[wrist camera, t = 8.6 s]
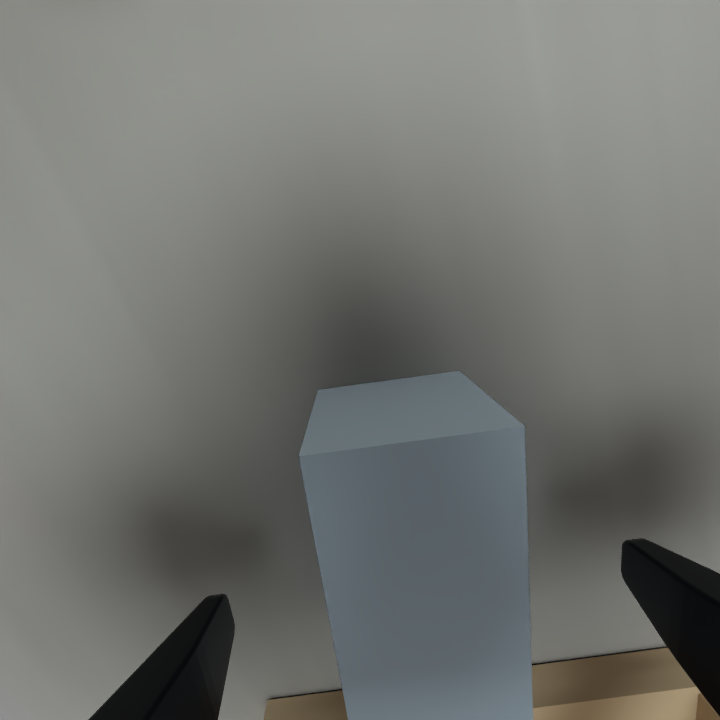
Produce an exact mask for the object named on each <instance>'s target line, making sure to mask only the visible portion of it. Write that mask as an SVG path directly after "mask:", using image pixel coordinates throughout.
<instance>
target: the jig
mask: <svg viewBox="0 0 720 720" xmlns="http://www.w3.org/2000/svg"><path fill="white" fill-rule="evenodd" d="M532 697H533V720H720V717H719V715H718V714H717V713H716V712H715V710H714V709H713V708H712V706H711V705H710V704H709V702H708V701H707V700H706V699H705V697H704V696H703V695H702V693H701V692H700V691H699V689H698V688H697V687H696V686H695V684H694V683H693V682H692V680H691V679H690V678H689V676H688V675H687V674H686V672H685V671H684V670H683V668H682V667H681V666H680V664H679V663H678V662H677V660H676V659H675V657H674V656H673V654H672V653H671V652H670V650H669V649H668V648H661V649H654V650H646V651H638V652H631V653H623V654H616V655H608V656H600V657H593V658H585V659H577V660H570V661H562V662H555V663H547V664H539V665H532ZM264 720H348V717H347V712H346V706H345V701H344V696H343V690H341V691H334V692H326V693H318V694H311V695H303V696H295V697H288V698H280V699H273V700H268V701H267V706H266V711H265V716H264Z"/></svg>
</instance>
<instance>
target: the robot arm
mask: <svg viewBox="0 0 720 720" xmlns="http://www.w3.org/2000/svg"><path fill="white" fill-rule="evenodd" d="M621 573H622V576H623V579H624V581H625V583H626V585H627V586H628V588H629V589H630V591H631V592H632V594H633V595H634V597H635V598H636V600H637V601H638V603H639V604H640V606H641V608H642V609H643V611H644V612H645V614H646V615H647V617H648V618H649V620H650V621H651V623H652V624H653V626H654V627H655V629H656V630H657V632H658V633H659V635H660V637H661V638H662V640H663V641H664V643H665V644H666V646H667V647H668V649H669V650H670V652H671V653H672V654H673V656H674V657H675V659H676V660H677V662H678V663H679V664H680V666H681V667H682V668H683V670H684V671H685V672H686V674H687V675H688V676H689V678H690V679H691V680H692V682H693V683H694V684H695V686H696V687H697V688H698V689H699V691H700V692H701V693H702V695H703V696H704V697H705V699H706V700H707V701H708V702H709V704H710V705H711V706H712V708H713V709H714V710H715V712H716V713H717V714H718V715H719V717H720V574H719V573H717V572H715V571H713V570H711V569H709V568H707V567H704V566H702V565H700V564H698V563H696V562H694V561H691V560H689V559H687V558H685V557H683V556H681V555H679V554H676V553H674V552H672V551H670V550H668V549H666V548H663V547H661V546H659V545H657V544H655V543H653V542H650V541H648V540H646V539H632V540H626V541H624V542H623V544H622V558H621ZM234 631H235V624H234V619H233V615H232V611H231V608H230V604H229V600H228V597H227V596H226V595H225V594H219V595H211V596H208V597H206V598H205V599H204V600H203V601H202V602H201V603H200V604H199V605H198V606H197V607H196V608H195V609H194V610H193V611H192V612H191V613H190V614H189V615H188V616H187V618H186V619H185V620H184V621H183V622H182V623H181V624H180V625H179V626H178V627H177V628H176V629H175V630H174V631H173V632H172V633H171V634H170V635H169V636H168V637H167V638H166V639H165V640H164V642H163V643H162V644H161V645H160V646H159V647H158V648H157V649H156V650H155V651H154V652H153V653H152V654H151V655H150V656H149V657H148V658H147V659H146V660H145V661H144V662H143V663H142V664H141V666H140V667H139V668H138V669H137V670H136V671H135V672H134V673H133V674H132V675H131V676H130V677H129V678H128V679H127V680H126V681H125V682H124V683H123V684H122V685H121V686H120V687H119V688H118V690H117V691H116V692H115V693H114V694H113V695H112V696H111V697H110V698H109V699H108V700H107V701H106V702H105V703H104V704H103V705H102V706H101V707H100V708H99V709H98V710H97V711H96V712H95V713H94V715H93V716H92V717H91V718H90V719H89V720H218V715H219V711H220V706H221V701H222V696H223V690H224V685H225V680H226V675H227V670H228V664H229V659H230V654H231V649H232V644H233V638H234Z"/></svg>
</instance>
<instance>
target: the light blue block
mask: <svg viewBox="0 0 720 720" xmlns="http://www.w3.org/2000/svg"><path fill="white" fill-rule="evenodd" d="M299 461H300V466H301V472H302V477H303V482H304V488H305V493H306V498H307V504H308V509H309V514H310V520H311V525H312V530H313V536H314V541H315V546H316V552H317V557H318V562H319V568H320V573H321V578H322V584H323V589H324V594H325V600H326V605H327V610H328V616H329V621H330V626H331V632H332V637H333V642H334V648H335V653H336V658H337V664H338V669H339V674H340V680H341V685H342V690H343V696H344V701H345V706H346V712H347V717H348V720H533V697H532V662H531V627H530V591H529V556H528V521H527V486H526V451H525V426H524V425H523V424H522V423H520V422H519V421H518V420H517V419H516V418H515V417H513V416H512V415H511V414H510V413H509V412H507V411H506V410H505V409H504V408H503V407H502V406H500V405H499V404H498V403H497V402H496V401H494V400H493V399H492V398H491V397H490V396H488V395H487V394H486V393H485V392H484V391H483V390H481V389H480V388H479V387H478V386H477V385H475V384H474V383H473V382H472V381H471V380H470V379H468V378H467V377H466V376H465V375H464V374H462V373H461V372H460V371H454V372H447V373H439V374H432V375H425V376H417V377H410V378H402V379H395V380H387V381H380V382H373V383H365V384H358V385H350V386H343V387H335V388H328V389H321V390H318V392H317V395H316V399H315V402H314V405H313V409H312V412H311V416H310V419H309V423H308V426H307V429H306V433H305V436H304V440H303V443H302V447H301V450H300V453H299Z"/></svg>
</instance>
